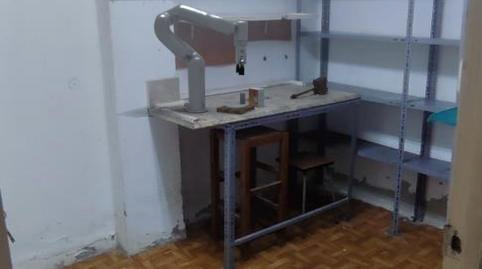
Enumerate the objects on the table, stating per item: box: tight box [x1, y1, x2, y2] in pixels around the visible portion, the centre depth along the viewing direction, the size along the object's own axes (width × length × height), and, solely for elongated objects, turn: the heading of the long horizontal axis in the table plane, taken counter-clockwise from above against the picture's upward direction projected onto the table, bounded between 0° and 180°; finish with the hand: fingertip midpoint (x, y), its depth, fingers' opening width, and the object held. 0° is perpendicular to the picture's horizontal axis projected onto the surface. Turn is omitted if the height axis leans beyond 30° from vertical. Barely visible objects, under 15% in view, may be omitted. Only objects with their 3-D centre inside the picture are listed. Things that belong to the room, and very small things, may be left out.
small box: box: [248, 87, 265, 108], centre depth 296 cm, size 8×6×10 cm
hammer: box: [290, 76, 329, 99], centre depth 327 cm, size 7×33×10 cm, turn 131°
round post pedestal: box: [224, 92, 247, 109], centre depth 282 cm, size 12×12×8 cm
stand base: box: [216, 104, 256, 115], centre depth 284 cm, size 16×16×2 cm
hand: (240, 73), depth 282 cm, fingers open, 9 cm apart
